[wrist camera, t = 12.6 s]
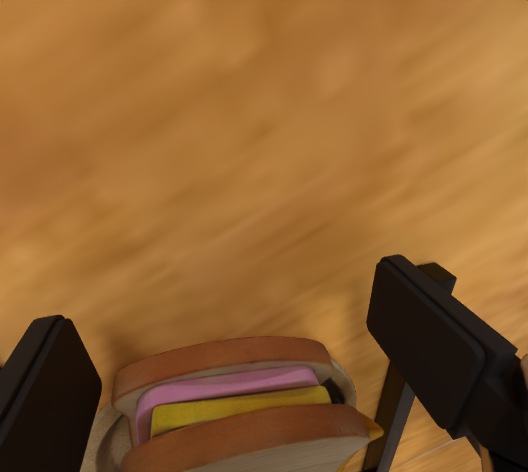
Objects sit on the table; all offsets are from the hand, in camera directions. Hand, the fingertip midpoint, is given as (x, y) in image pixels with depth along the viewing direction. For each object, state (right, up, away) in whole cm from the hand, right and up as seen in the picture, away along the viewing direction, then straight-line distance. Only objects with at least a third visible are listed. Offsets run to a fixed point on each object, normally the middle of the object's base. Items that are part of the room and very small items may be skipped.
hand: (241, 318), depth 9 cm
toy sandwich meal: (-1, -6, +5) cm, 8 cm away
